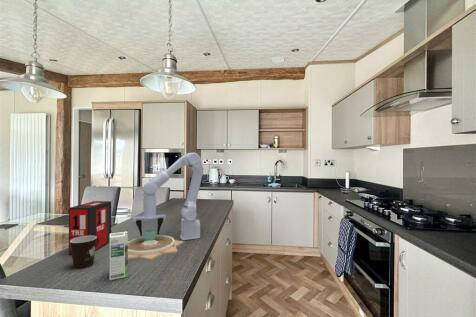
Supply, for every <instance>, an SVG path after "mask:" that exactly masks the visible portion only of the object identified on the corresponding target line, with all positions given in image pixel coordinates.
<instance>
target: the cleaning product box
mask: <svg viewBox="0 0 476 317" xmlns="http://www.w3.org/2000/svg"><path fill="white" fill-rule="evenodd" d="M111 233H112V201H109V200H107V201H106V200H105V201H104V200H103V201H102V200H92V201H89V202H86V203H83V204H82V203H81V204H78V205H75V206H71V207H69V208H68V255H69V256H72V252H71V245H70V240H72V239H74V238H77V237H81V236H96V237H98V239H99V242H98V244H97V246H96V248H95V252H96V251H98V250H100V249H102V248H104V247H105V246H107V245H109V244H110V243H109V241H110V234H111ZM96 243H97V239H96Z"/></svg>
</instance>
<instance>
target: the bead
mask: <svg viewBox="0 0 476 317" xmlns="http://www.w3.org/2000/svg"><path fill="white" fill-rule="evenodd" d="M155 231H156V230H155V229H145V230H144V236H145V241H149V240H152V241H153V240H155V235H156V234H155V233H156V232H155Z"/></svg>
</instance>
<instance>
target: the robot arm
mask: <svg viewBox="0 0 476 317" xmlns="http://www.w3.org/2000/svg"><path fill="white" fill-rule="evenodd" d="M184 166H189V167H190V169H191V170H192V176H191V180H190V183H189V184H190V185H189V187H188V188H189V189H188V192H187V196H186V200H185V202H184V203H183V207H182V208H181V210H180V216H181V217H182V218H181V219H180V220H181V221H180V222H181V224H180V225H181V226H180V227H181V228H180V229H181V230H180V232H181V233H180V234H179V238H180V239H181V241H187V240H195V239H201V221H200V219H197V215H198V214H197V199H198V195H199V191H200V187H201V182H202V178H203V174H204V167H203V163H202V158H201V156H200V155H199V154H198V153H196V152H188V153H186V154H184V155H183V156H181V157H180V158H178V159H177V160H176V161H174V163H173V164H171V166H169V167H168V168H167V169H166V170H164V171H163V170H161V171H158V172H156V175H154V176H153V177H152V178H151V179H148V182H145V183H144V184H143V187H142V191H143V200H142V202H143V215H139V216H133V218H132V219H133V220H132V221H133V222H134V223H135V225H136V226H137V229H138V232H139V235H140V236H139V237H143V230H142V229H143V228H142V227H143V226H142V222H144V221H152V220H153V221H154V220H157V229H156V233H157V234H156V235H160V231H161V228H162V225H163V223H164V220H166V214H165V213H163V214H157V197H156V193H157V191H158V189H159V188H161V187H162V186H163V185H164V184H166V183H167V182H168V181H169V179H170V176H171V175H172V174H174V173H175V172H176V171H178V170H179V169H180V168H181V167H184Z"/></svg>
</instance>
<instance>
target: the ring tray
mask: <svg viewBox="0 0 476 317" xmlns="http://www.w3.org/2000/svg"><path fill="white" fill-rule="evenodd" d="M174 238H175V237H173V236H172V235H170V236H169V235H163V234H159V235H157V234H155V240H153V241H152V240H149V241H145V235H144V236H141V237H140V236H139V237H135V238H134V239H130V240H128V261H129V260H135V259H141V260H147V261H154V260H155V259H157V258H159V257H160V256H164V255H170V254H171V255H172V254H177V253H178V249H177V248H178V247H179V246H181V245H183V244H184V243H185V241H184V240H176V239H174Z"/></svg>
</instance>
